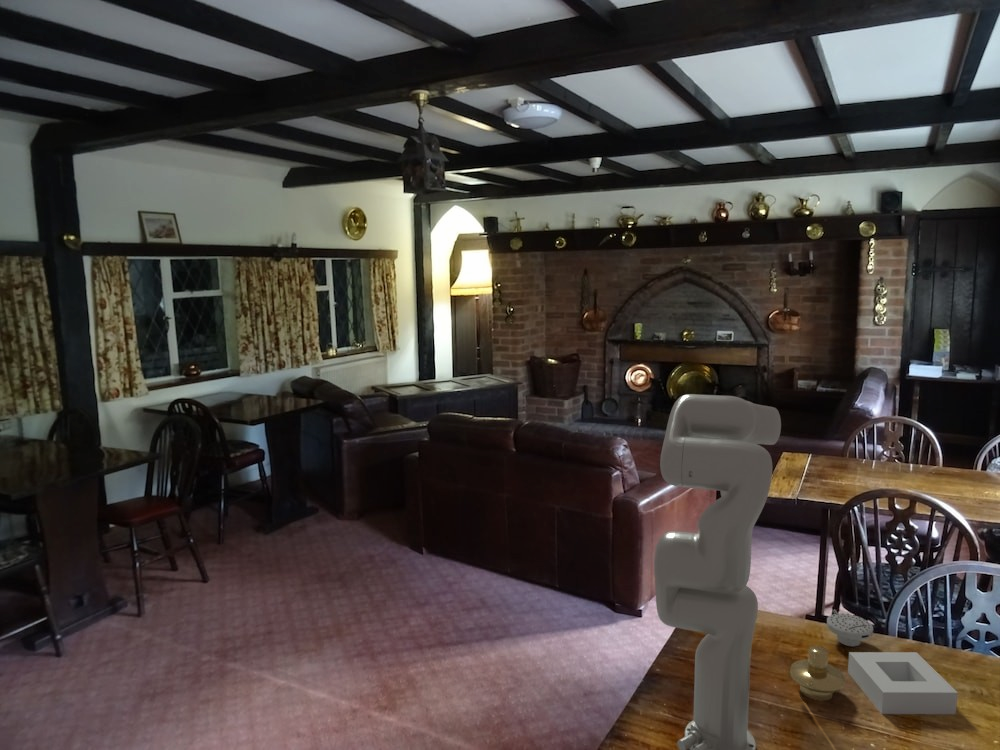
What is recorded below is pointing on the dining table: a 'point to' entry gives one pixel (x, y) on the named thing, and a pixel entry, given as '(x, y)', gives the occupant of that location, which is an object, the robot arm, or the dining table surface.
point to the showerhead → (849, 628)
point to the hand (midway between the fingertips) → (734, 528)
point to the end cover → (817, 675)
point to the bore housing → (902, 683)
